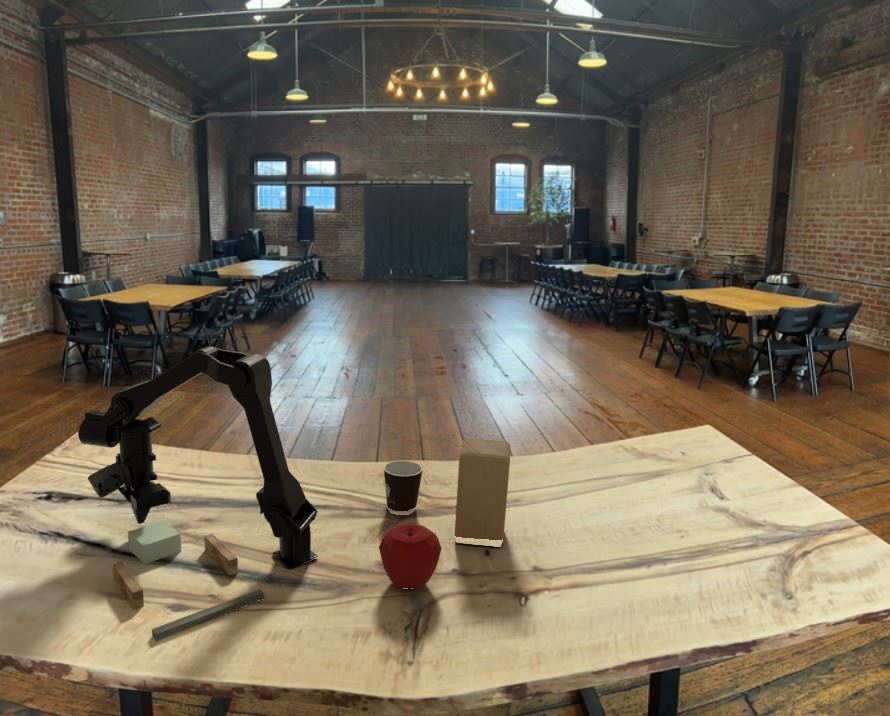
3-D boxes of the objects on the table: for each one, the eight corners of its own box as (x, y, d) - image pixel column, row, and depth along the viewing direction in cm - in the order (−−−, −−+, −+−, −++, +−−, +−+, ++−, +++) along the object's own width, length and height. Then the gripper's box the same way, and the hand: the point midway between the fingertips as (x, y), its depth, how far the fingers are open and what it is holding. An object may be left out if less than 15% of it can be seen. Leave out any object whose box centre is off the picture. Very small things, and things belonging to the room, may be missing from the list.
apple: (449, 580, 125) (452, 523, 122) (417, 608, 116) (420, 547, 113) (400, 561, 131) (402, 506, 128) (366, 587, 122) (368, 528, 119)
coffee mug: (419, 519, 147) (421, 477, 145) (380, 517, 147) (381, 474, 145) (422, 496, 159) (424, 456, 156) (385, 493, 159) (387, 454, 156)
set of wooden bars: (264, 599, 117) (264, 583, 116) (155, 641, 105) (154, 624, 104) (213, 547, 132) (212, 533, 131) (113, 578, 120) (112, 563, 119)
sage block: (181, 552, 130) (180, 533, 129) (144, 565, 125) (143, 545, 124) (164, 538, 135) (163, 520, 134) (129, 550, 130) (127, 531, 129)
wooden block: (503, 526, 146) (510, 440, 142) (502, 550, 137) (510, 458, 132) (457, 522, 147) (463, 435, 142) (453, 545, 138) (459, 453, 133)
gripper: (77, 443, 133) (83, 515, 136) (105, 476, 119) (111, 555, 123) (136, 432, 140) (141, 501, 144) (169, 462, 126) (173, 537, 130)
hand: (140, 522), depth 135 cm, fingers closed
